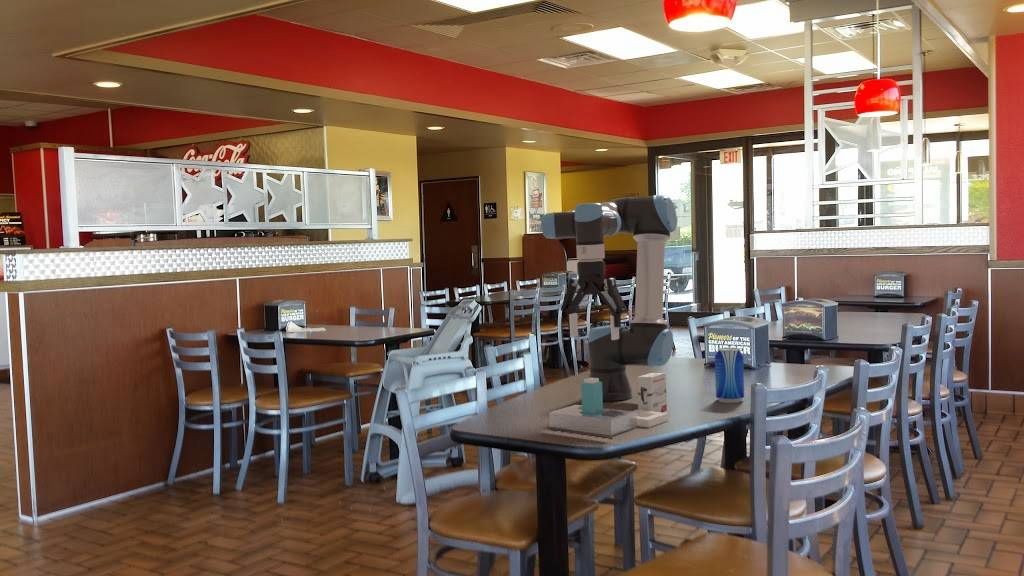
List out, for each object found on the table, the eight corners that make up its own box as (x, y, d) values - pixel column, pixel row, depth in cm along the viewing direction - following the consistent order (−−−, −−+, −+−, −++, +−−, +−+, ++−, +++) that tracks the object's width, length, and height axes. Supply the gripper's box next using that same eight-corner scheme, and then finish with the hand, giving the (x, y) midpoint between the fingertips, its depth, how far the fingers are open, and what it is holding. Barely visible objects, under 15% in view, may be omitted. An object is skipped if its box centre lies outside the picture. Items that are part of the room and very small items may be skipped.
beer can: (745, 403, 261) (743, 350, 261) (716, 403, 263) (715, 350, 262) (743, 398, 270) (742, 346, 269) (715, 398, 271) (714, 347, 271)
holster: (617, 426, 236) (616, 415, 236) (637, 420, 244) (637, 409, 244) (648, 431, 230) (648, 419, 229) (668, 424, 237) (668, 413, 237)
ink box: (652, 411, 255) (651, 371, 254) (667, 413, 252) (666, 372, 251) (637, 417, 248) (636, 376, 247) (652, 418, 245) (651, 377, 244)
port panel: (550, 430, 235) (549, 410, 235) (576, 422, 244) (575, 402, 244) (611, 439, 222) (610, 418, 221) (637, 430, 231) (636, 410, 231)
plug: (582, 427, 233) (580, 379, 232) (591, 424, 236) (589, 377, 235) (594, 429, 230) (593, 380, 229) (603, 426, 233) (601, 378, 232)
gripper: (546, 261, 241) (549, 337, 242) (622, 261, 224) (625, 342, 226) (562, 259, 246) (565, 334, 248) (637, 258, 230) (641, 338, 232)
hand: (594, 338), depth 237 cm, fingers open, 13 cm apart
